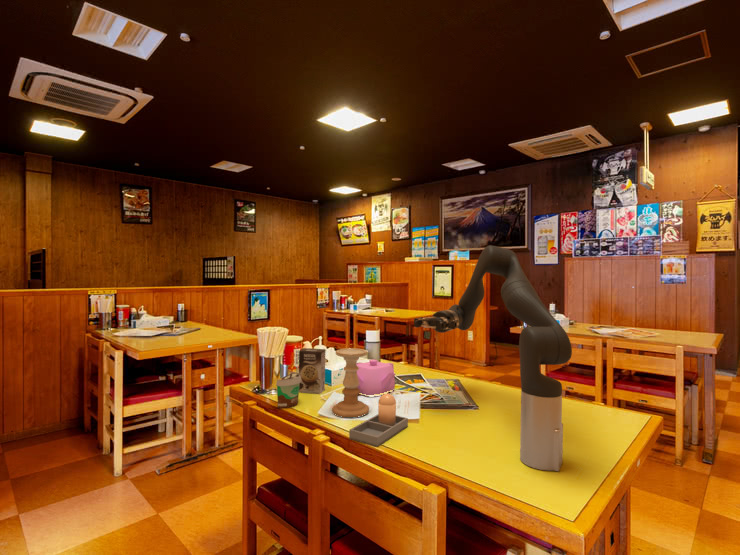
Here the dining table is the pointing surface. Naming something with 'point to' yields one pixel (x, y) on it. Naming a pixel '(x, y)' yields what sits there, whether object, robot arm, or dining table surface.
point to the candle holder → (350, 385)
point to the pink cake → (375, 377)
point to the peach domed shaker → (387, 410)
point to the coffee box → (312, 370)
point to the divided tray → (376, 431)
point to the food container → (288, 390)
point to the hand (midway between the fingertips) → (428, 325)
